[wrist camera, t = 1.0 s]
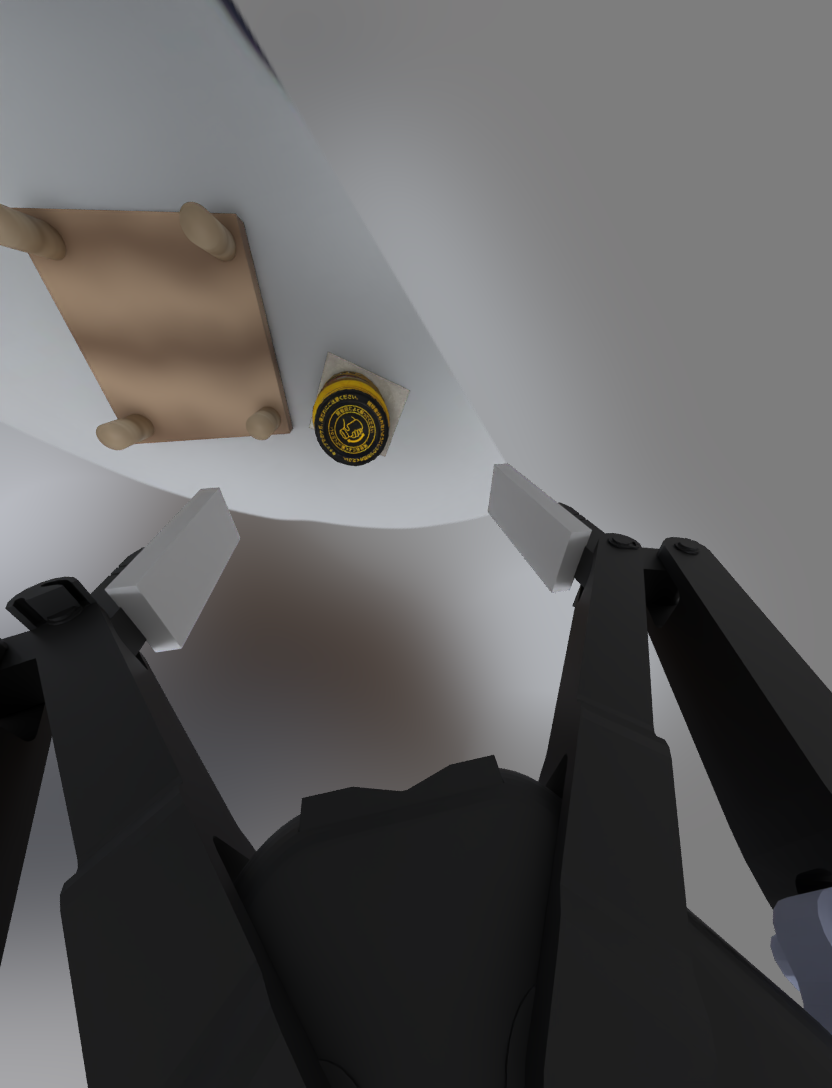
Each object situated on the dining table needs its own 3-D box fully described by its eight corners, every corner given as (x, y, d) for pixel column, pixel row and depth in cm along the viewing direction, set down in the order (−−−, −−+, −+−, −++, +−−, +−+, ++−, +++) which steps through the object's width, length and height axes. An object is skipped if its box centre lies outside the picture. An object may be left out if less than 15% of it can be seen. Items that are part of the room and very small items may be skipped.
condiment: (327, 351, 28) (316, 356, 19) (409, 390, 31) (437, 412, 22) (309, 427, 32) (290, 465, 22) (384, 455, 35) (398, 500, 25)
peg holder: (30, 218, 21) (-67, 180, 16) (243, 222, 23) (214, 190, 18) (143, 438, 29) (102, 457, 25) (293, 428, 31) (282, 444, 26)
